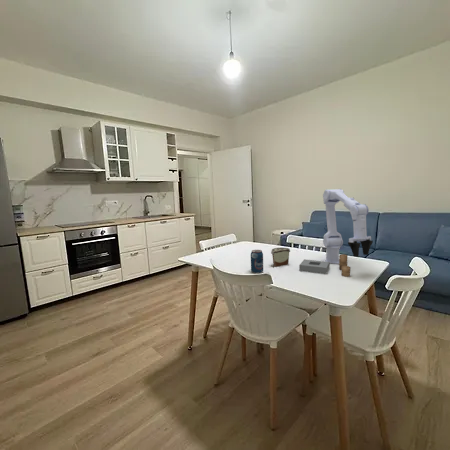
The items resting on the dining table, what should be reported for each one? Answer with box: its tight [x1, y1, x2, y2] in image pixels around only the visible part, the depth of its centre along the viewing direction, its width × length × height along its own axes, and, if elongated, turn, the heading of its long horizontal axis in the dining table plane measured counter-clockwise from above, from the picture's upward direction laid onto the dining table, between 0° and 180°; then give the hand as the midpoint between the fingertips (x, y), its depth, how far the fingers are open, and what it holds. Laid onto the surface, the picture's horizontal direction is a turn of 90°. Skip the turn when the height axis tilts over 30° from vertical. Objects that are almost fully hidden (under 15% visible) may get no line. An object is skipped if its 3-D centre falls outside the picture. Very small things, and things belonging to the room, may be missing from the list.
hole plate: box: [298, 259, 331, 275], centre depth 138 cm, size 12×14×4 cm
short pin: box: [340, 265, 351, 278], centre depth 126 cm, size 4×4×4 cm
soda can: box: [250, 249, 264, 274], centre depth 138 cm, size 7×7×12 cm
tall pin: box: [338, 253, 349, 271], centre depth 135 cm, size 4×4×8 cm
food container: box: [270, 247, 291, 268], centre depth 149 cm, size 12×6×10 cm, turn 111°
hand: (360, 255), depth 123 cm, fingers open, 7 cm apart
